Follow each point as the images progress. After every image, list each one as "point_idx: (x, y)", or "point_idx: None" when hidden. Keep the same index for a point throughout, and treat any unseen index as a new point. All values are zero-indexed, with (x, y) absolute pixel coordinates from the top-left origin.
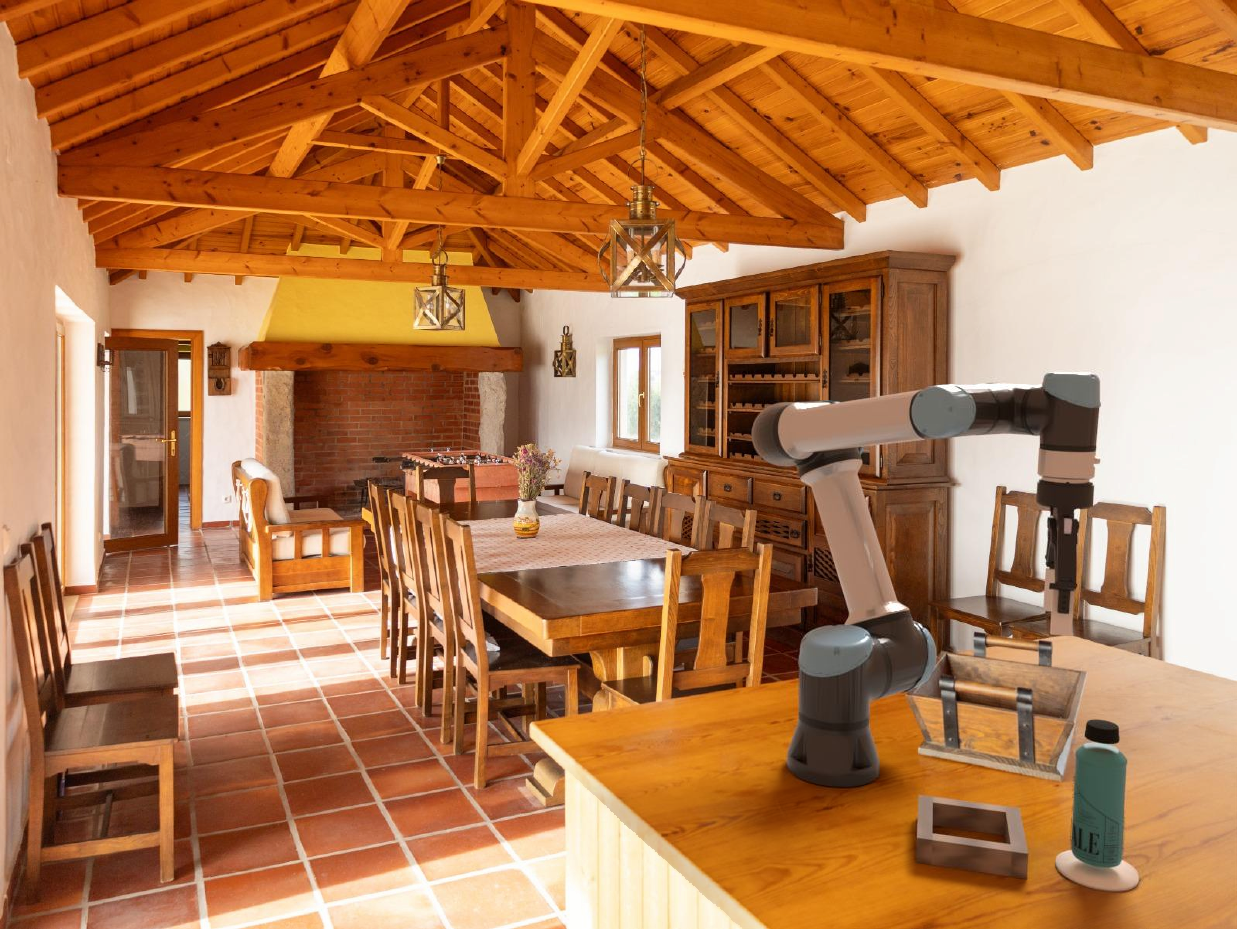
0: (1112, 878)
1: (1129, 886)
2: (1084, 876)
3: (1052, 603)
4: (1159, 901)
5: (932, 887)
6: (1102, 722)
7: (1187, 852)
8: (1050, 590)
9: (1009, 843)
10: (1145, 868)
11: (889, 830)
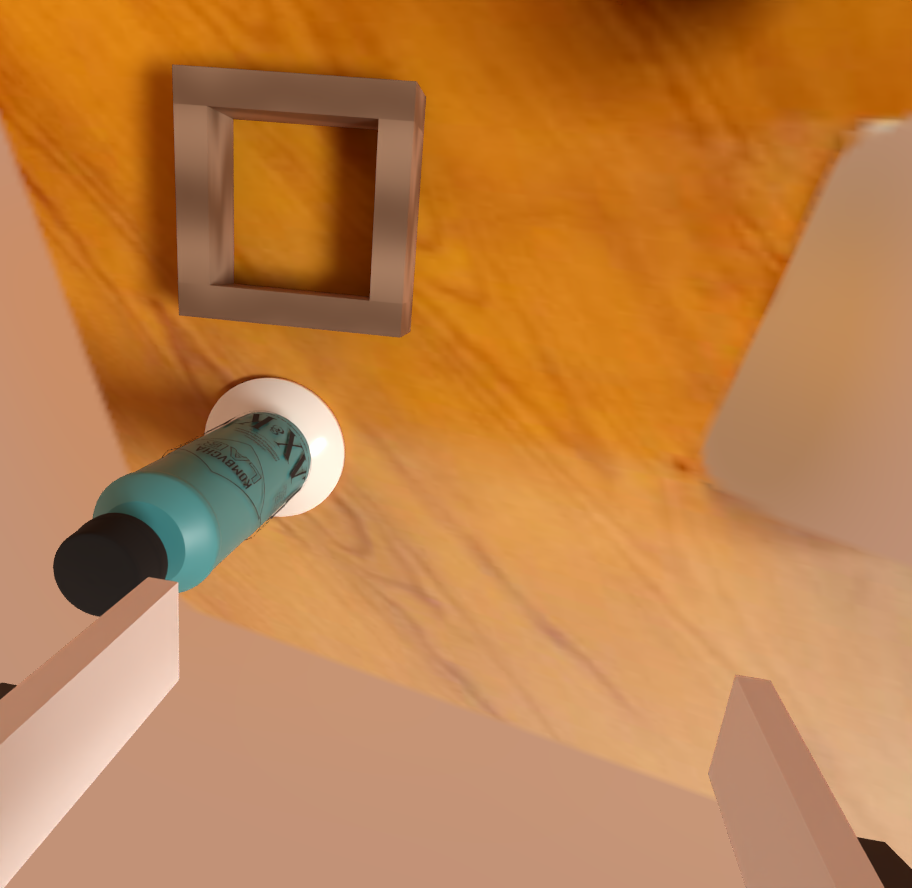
0: None
1: None
2: (233, 419)
3: (4, 697)
4: None
5: (111, 112)
6: (97, 579)
7: (399, 626)
8: (779, 824)
9: (244, 287)
10: (314, 536)
11: (337, 18)
